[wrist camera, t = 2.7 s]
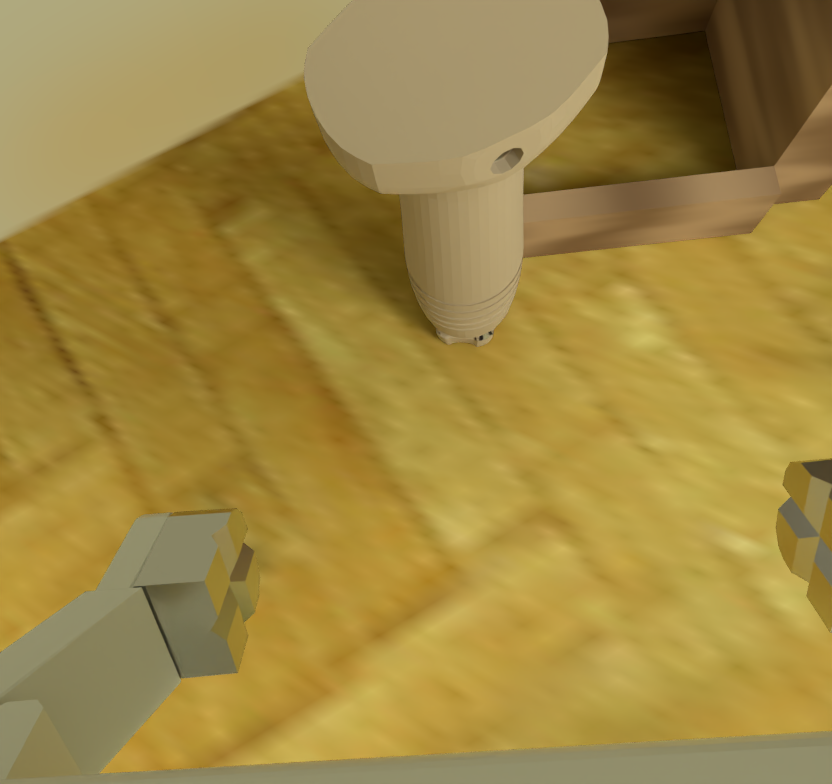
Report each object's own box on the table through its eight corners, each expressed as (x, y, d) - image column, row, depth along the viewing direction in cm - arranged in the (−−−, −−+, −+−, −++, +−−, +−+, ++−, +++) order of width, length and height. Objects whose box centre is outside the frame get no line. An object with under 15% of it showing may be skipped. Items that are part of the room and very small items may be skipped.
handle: (564, 329, 28) (651, 68, 14) (423, 398, 28) (363, 207, 14) (508, 235, 30) (535, -92, 15) (373, 300, 29) (271, 31, 15)
